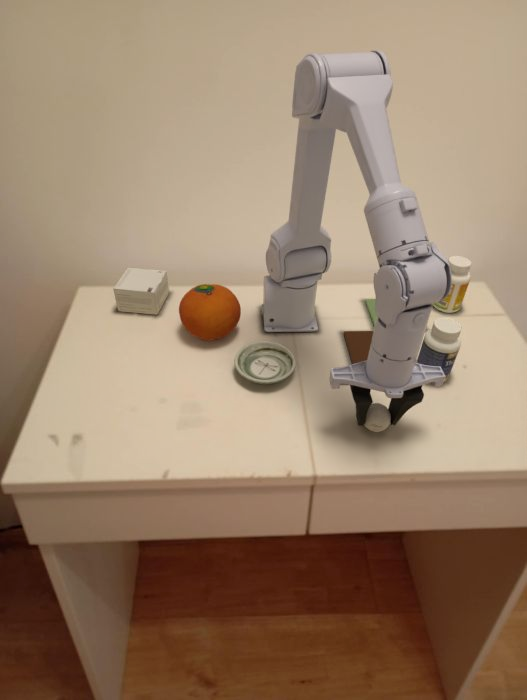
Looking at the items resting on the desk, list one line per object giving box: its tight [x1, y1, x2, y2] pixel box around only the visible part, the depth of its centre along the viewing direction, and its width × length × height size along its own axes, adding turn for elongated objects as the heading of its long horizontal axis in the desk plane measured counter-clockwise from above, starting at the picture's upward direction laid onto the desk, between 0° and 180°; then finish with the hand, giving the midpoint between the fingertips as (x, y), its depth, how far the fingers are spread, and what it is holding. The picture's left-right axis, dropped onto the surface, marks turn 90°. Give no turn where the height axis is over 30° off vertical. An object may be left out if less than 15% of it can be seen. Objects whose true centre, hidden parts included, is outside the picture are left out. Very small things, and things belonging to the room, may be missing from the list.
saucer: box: [234, 340, 297, 385], centre depth 75 cm, size 10×10×2 cm
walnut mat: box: [343, 330, 374, 365], centre depth 80 cm, size 9×9×1 cm
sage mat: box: [364, 298, 377, 328], centre depth 88 cm, size 9×9×1 cm
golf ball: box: [364, 402, 391, 433], centre depth 66 cm, size 4×4×4 cm
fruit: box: [178, 283, 242, 341], centre depth 81 cm, size 11×10×8 cm
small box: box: [112, 267, 170, 316], centre depth 88 cm, size 8×8×5 cm
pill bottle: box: [415, 316, 462, 382], centre depth 73 cm, size 5×5×10 cm
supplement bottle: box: [432, 255, 472, 313], centre depth 88 cm, size 5×5×10 cm
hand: (375, 420), depth 66 cm, fingers closed on golf ball, 4 cm apart
